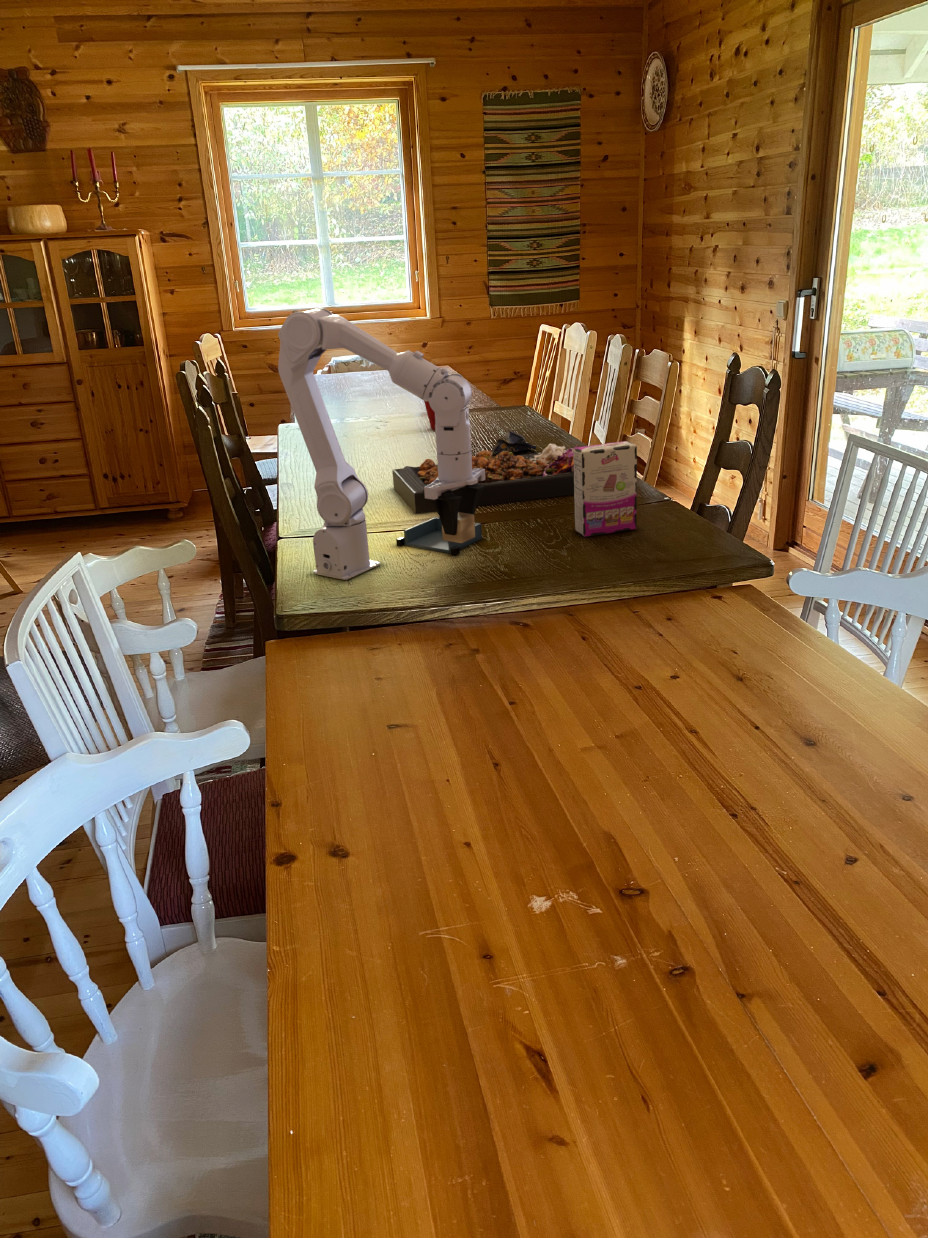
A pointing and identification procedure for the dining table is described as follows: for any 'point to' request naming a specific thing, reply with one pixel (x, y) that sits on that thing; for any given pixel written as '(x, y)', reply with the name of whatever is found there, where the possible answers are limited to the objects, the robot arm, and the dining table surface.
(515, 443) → the snack package
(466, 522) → the block
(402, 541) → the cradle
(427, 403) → the plastic cup
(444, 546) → the tray
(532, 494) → the food platter
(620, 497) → the candy bar box
